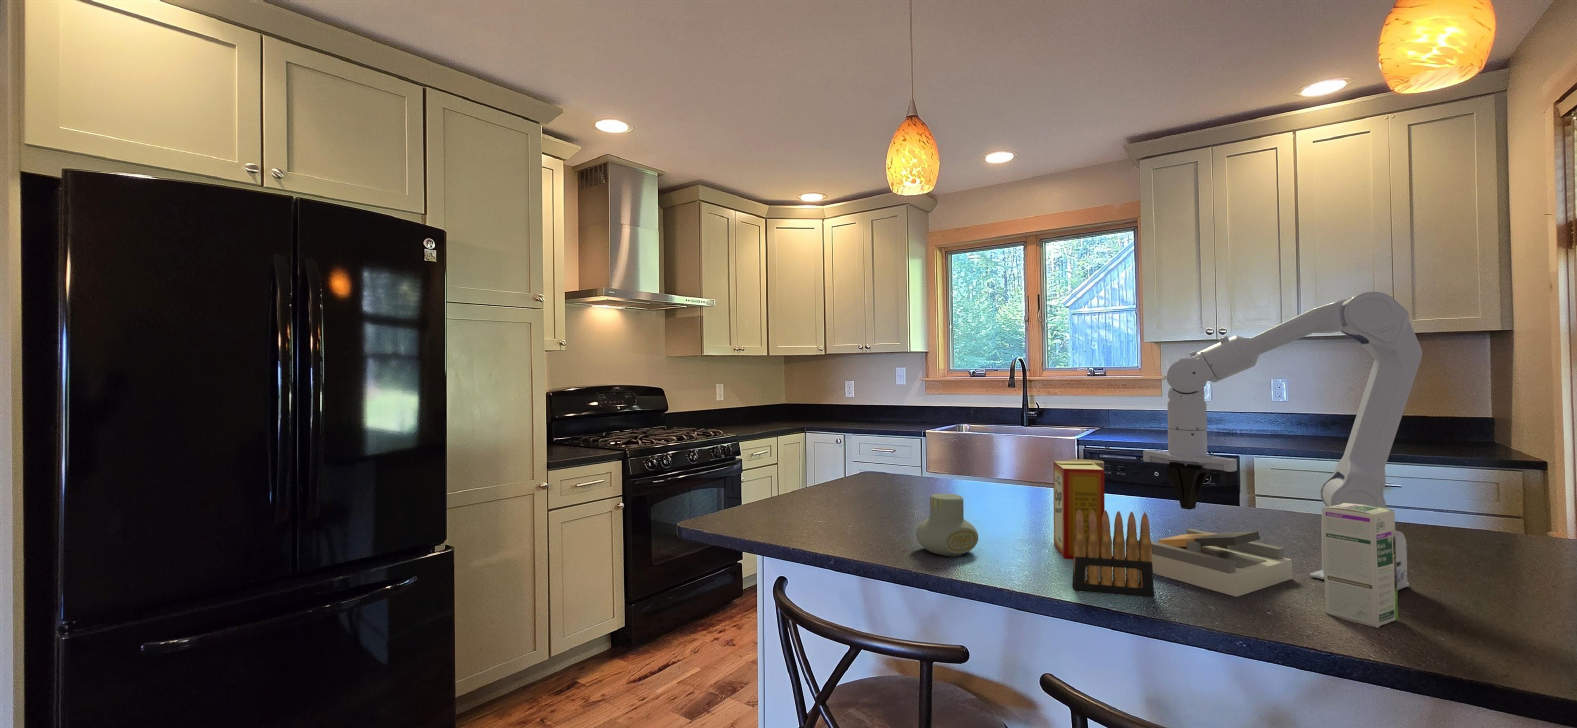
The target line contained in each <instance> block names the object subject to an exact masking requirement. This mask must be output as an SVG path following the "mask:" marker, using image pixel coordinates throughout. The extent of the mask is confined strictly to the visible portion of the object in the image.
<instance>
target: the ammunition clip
mask: <svg viewBox="0 0 1577 728" xmlns="http://www.w3.org/2000/svg"><path fill="white" fill-rule="evenodd" d="M1123 523H1124V522H1123V517H1122V514H1121V512H1120V511H1119V510H1117V511H1116V514H1115V517H1114V523H1113V525H1114V526H1113V529H1114V530H1113V537H1112V535H1111V521H1110V517H1109V513H1108V511H1107V510H1106V509H1105V511H1104V513H1103V516H1102V523H1101V536H1100V555H1099V539H1098V535H1097V521H1096V516H1095V513H1094V511H1093V510H1091V512H1090V515H1089V521H1088V535H1087V554H1086V539H1085V534H1084V521H1083V515H1082V512H1081V510H1080V509H1079V510H1078V511H1077V515H1076V521H1075V534H1074V560H1073V561H1072V562H1073V565H1072V582H1071V583H1072V584H1071V585H1072V589H1073V591H1074V592H1079V591H1082V592H1081V593H1092V594H1093V593H1094V594H1103V595H1104V594H1106V595H1115V596H1117V595H1118V596H1127V597H1128V596H1130V597H1140V598H1141V597H1143V598H1152V599H1153V598H1155V585H1154V573H1153V567H1152V545H1151V541H1152V540H1151V530H1150V521H1149V517H1148V514H1147V512H1145V511H1144V512H1143V513H1142V517H1141V520H1140V531H1139V539H1138V533H1137V521H1136V518H1135V515H1134V512H1133V511H1130V513H1129V515H1128V519H1127V525H1126V526H1127V529H1126V537H1124V536H1125V533H1124V532H1125V531H1124V524H1123ZM1138 540H1139V558H1138Z"/></svg>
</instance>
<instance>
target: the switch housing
mask: <svg viewBox="0 0 1577 728" xmlns="http://www.w3.org/2000/svg"><path fill="white" fill-rule="evenodd" d="M1208 533H1211V532H1209V531H1204V530H1200V529H1196V528H1189V529H1188V528H1187V529H1186V534H1208ZM1137 540H1138V558H1139V539H1137ZM1151 545H1152V567H1153V575H1154V574H1155V575H1157V576H1162V577H1165V578H1169V579H1172V580H1175V581H1179V582H1183V583H1187V584H1190V585H1194V586H1196V587H1200V588H1203V589H1208V590H1211V591H1215V592H1218V593H1221V594H1225V595H1229V596H1232V597H1236V598H1237V597H1240V596H1243V595H1246V594H1247V595H1248V594H1250V593H1252V592H1253V593H1254V592H1256V591H1258V590H1262V589H1265V588H1268V587H1271V586H1275V585H1278V584H1281V583H1284V582H1287V581H1290V580H1292V579H1293V559H1290V558H1286V557H1285V552H1284V551H1285V548H1284V547H1280V546H1276V545H1271V544H1266V543H1262V542H1257V541H1252V542H1248V543H1244V544H1240V545H1235V546H1201V543H1199V542H1194V541H1187V547H1174V546H1170V545H1165V544H1161V543H1159V542H1156V541H1154V540H1153V541H1152V540H1151Z"/></svg>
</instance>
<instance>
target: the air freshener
mask: <svg viewBox="0 0 1577 728" xmlns="http://www.w3.org/2000/svg"><path fill="white" fill-rule="evenodd" d="M964 510H965V509H964V497H962V496H961V495H959V494H955V493H935V494H934V493H933V494H932V495H931V496H930V497H929V517H928V518H927V519H925V520H923V521H922V522H920V524H918V526H917V528H916V530H915V537H916V540H917V542H918V544H919V545H920V546H921V547H922V548H924V549H925V550H927V551H928V552H930V553H932V554H936V555H940V556H945V557H952V558H953V557H954V558H955V557H960V556H963V555H965V554H966V553H969V552H970V551H972V550H973V549H974V548H975V547H976V546H977V544H978V542H979V533H978V530H977V529H976V527H975V526H974V525H973V524H972V523H970V522H969V521H967V519H965V518H964V516H965V515H964Z"/></svg>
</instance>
